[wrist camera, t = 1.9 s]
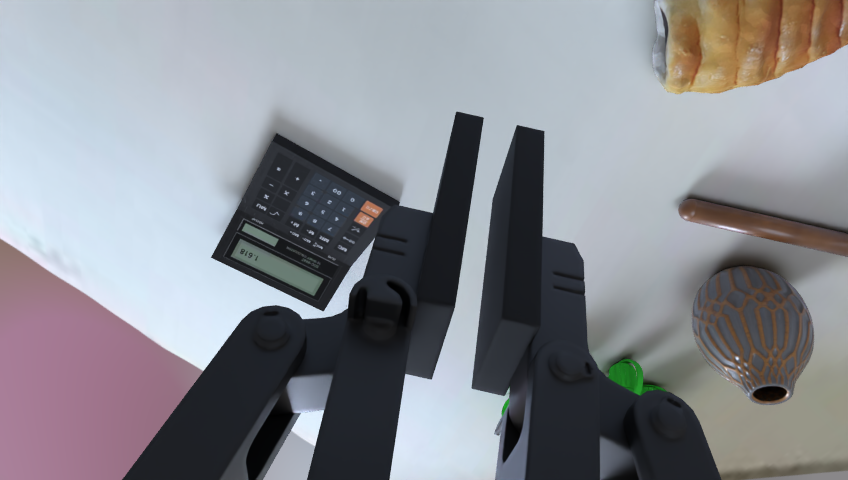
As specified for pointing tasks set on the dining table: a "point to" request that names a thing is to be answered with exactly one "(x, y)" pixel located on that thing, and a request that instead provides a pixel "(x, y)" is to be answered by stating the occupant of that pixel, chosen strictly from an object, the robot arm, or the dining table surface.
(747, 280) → the vase
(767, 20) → the pastry
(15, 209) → the dining table surface
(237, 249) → the calculator
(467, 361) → the dining table surface
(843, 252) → the wooden spoon
